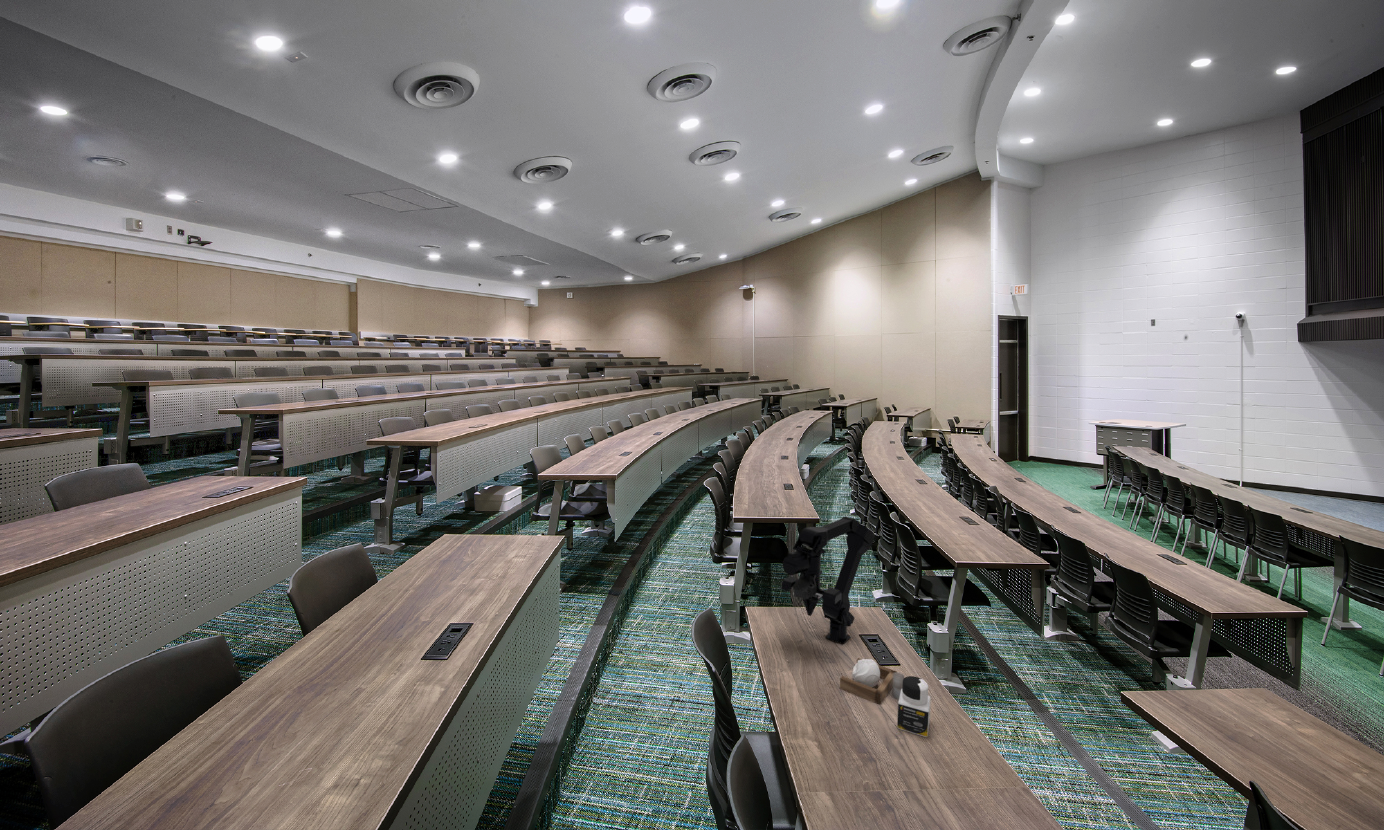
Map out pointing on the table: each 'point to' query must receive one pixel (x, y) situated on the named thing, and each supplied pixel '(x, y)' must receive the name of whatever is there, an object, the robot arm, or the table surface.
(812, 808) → the table surface
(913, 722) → the medicine bottle
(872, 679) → the white carved ball
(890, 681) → the carrier cradle
